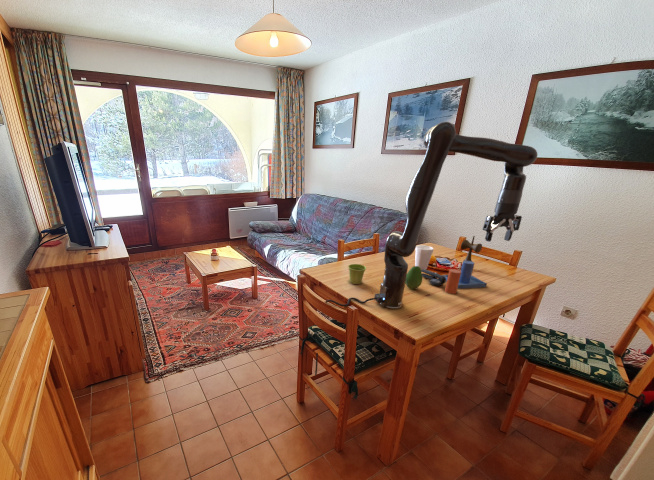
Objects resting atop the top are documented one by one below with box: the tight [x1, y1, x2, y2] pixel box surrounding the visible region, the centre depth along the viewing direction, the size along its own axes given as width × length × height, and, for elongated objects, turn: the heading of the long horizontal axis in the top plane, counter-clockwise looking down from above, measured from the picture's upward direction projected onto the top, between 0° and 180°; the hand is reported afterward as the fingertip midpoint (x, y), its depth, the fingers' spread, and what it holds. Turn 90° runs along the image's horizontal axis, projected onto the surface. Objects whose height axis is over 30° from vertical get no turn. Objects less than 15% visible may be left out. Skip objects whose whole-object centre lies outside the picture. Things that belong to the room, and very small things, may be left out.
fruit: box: [405, 265, 423, 290], centre depth 155 cm, size 8×8×12 cm
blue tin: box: [459, 261, 475, 284], centre depth 162 cm, size 5×5×11 cm
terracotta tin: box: [444, 268, 461, 295], centre depth 152 cm, size 5×5×11 cm
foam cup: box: [414, 244, 434, 270], centre depth 182 cm, size 10×9×13 cm
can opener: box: [421, 269, 447, 287], centre depth 165 cm, size 18×7×6 cm, turn 12°
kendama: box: [460, 235, 483, 268], centre depth 181 cm, size 6×10×20 cm, turn 28°
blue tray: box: [442, 274, 488, 289], centre depth 164 cm, size 16×14×2 cm
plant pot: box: [347, 263, 367, 285], centre depth 163 cm, size 9×9×9 cm
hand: (497, 240), depth 129 cm, fingers open, 8 cm apart
